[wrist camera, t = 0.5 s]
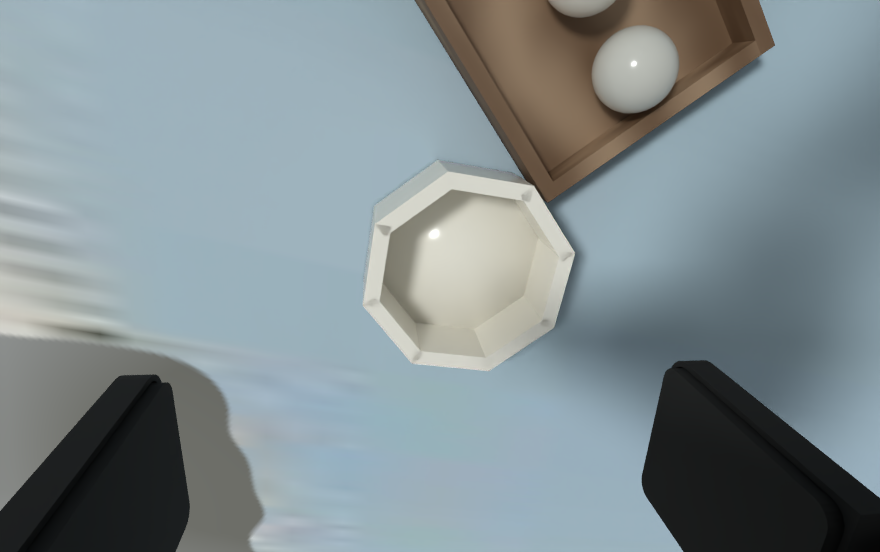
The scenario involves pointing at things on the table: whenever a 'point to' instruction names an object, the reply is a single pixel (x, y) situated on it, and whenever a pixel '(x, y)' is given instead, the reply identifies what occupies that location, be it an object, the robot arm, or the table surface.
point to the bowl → (465, 266)
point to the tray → (583, 72)
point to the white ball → (635, 69)
